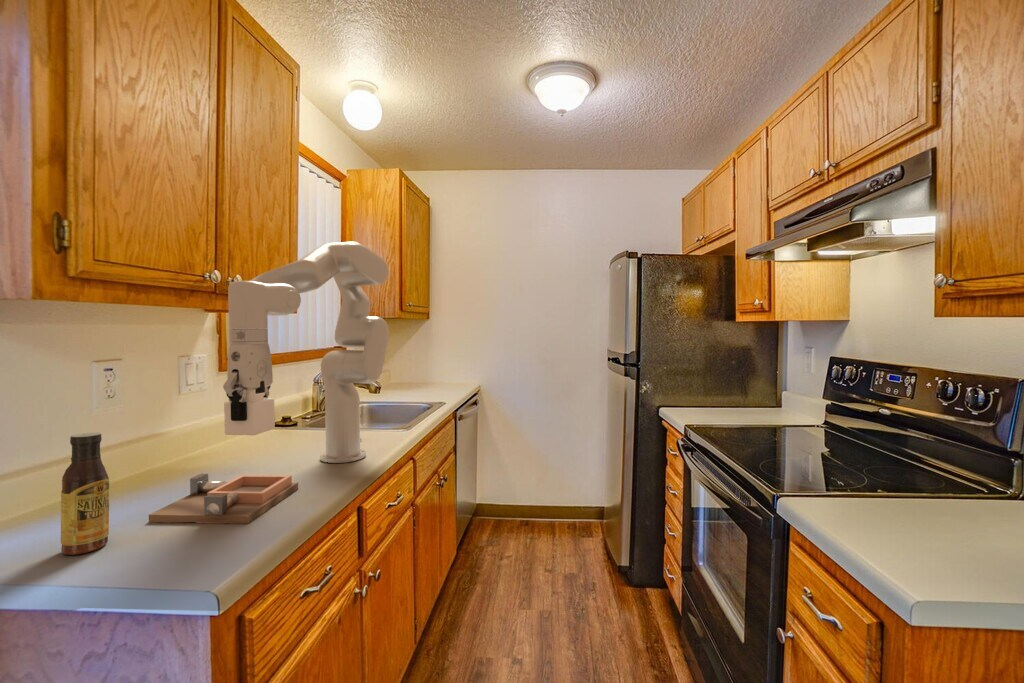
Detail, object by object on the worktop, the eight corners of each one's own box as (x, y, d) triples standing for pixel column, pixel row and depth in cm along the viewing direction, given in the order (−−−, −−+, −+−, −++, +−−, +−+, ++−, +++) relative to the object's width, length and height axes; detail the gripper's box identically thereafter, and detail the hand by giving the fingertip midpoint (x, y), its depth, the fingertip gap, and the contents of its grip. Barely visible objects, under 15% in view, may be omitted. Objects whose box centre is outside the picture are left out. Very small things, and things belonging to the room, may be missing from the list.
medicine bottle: (246, 428, 109) (245, 376, 109) (275, 428, 109) (274, 376, 108) (224, 435, 102) (222, 379, 102) (254, 435, 101) (253, 379, 101)
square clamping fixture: (216, 488, 113) (215, 466, 113) (298, 488, 113) (297, 467, 112) (148, 522, 93) (148, 496, 93) (247, 523, 93) (247, 497, 92)
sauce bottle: (80, 559, 79) (76, 440, 78) (50, 555, 80) (47, 438, 79) (120, 541, 85) (117, 431, 85) (92, 538, 86) (89, 430, 86)
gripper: (241, 338, 96) (243, 425, 96) (285, 336, 113) (287, 410, 114) (205, 338, 96) (207, 425, 97) (255, 336, 114) (256, 410, 114)
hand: (250, 416), depth 105 cm, fingers closed on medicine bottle, 7 cm apart
